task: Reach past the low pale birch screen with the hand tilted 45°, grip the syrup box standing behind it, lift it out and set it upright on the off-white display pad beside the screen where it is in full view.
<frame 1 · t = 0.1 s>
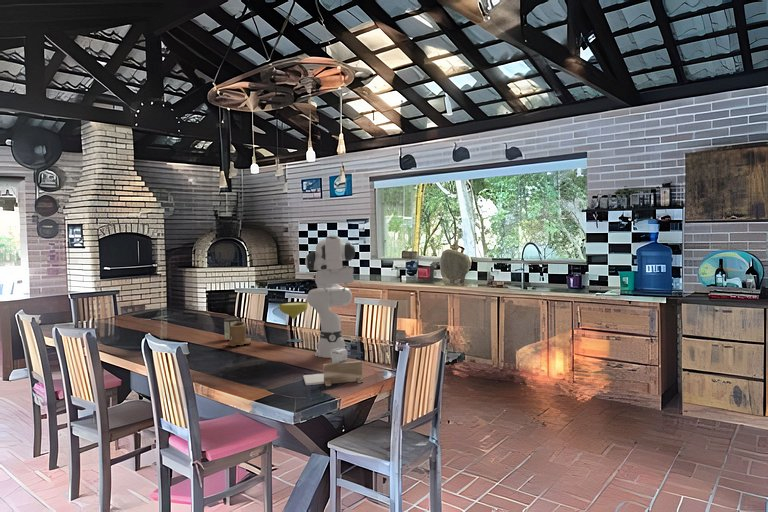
hand: (335, 292, 275), 39 cm above the table, tool pointing down, fingers open, 8 cm apart
stone cup: (240, 345, 332), on the table
cocktail glass: (294, 341, 340), on the table
birch screen: (343, 381, 246), on the table
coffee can: (232, 339, 351), on the table
display pad: (315, 380, 250), on the table
syrup box: (339, 379, 250), on the table
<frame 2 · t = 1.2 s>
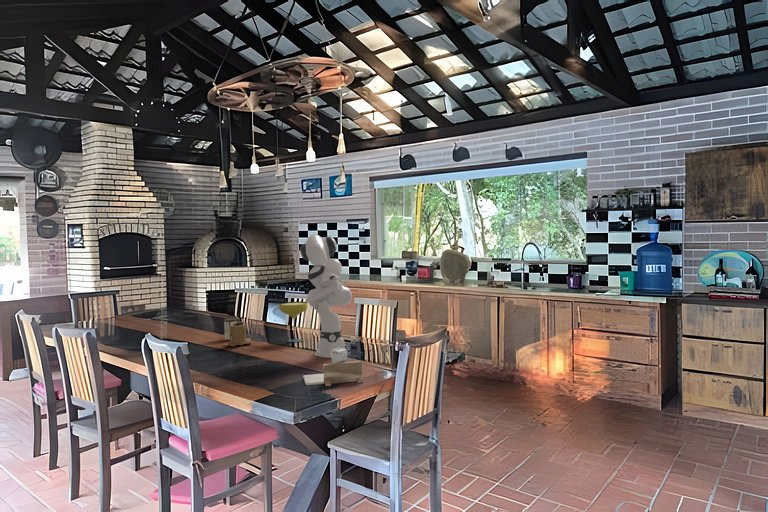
hand: (322, 305, 258), 35 cm above the table, tool tilted 50°, fingers open, 8 cm apart
nothing on the table moved.
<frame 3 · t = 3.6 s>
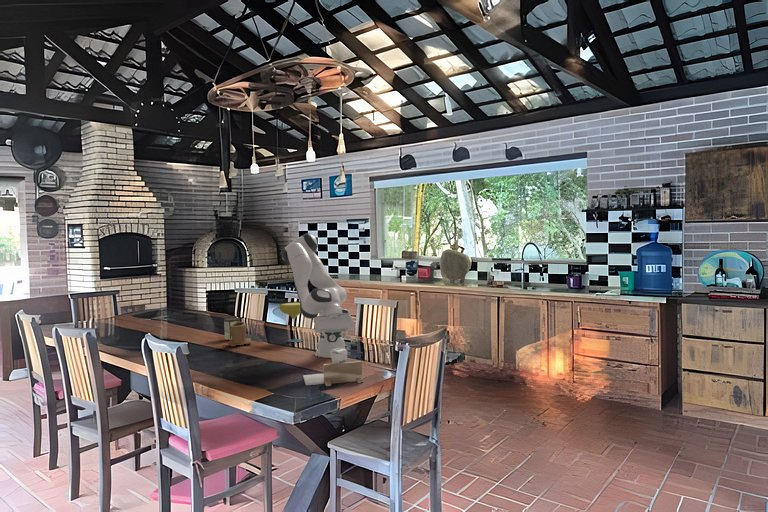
hand: (335, 337, 261), 18 cm above the table, tool tilted 45°, fingers open, 8 cm apart
nothing on the table moved.
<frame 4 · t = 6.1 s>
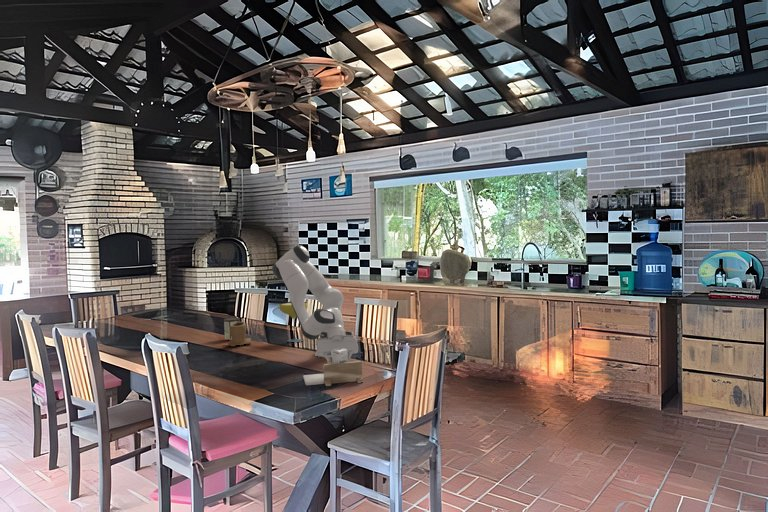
hand: (338, 361, 250), 9 cm above the table, tool tilted 45°, fingers open, 8 cm apart
syrup box: (339, 379, 250), on the table, touching gripper
everything else where it was.
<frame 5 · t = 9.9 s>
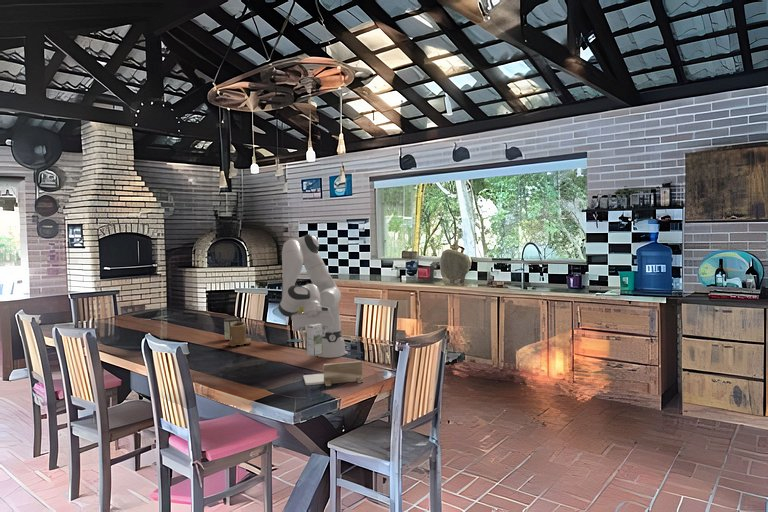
hand: (313, 336, 248), 21 cm above the table, tool tilted 45°, fingers closed on syrup box, 8 cm apart
syrup box: (314, 354, 248), point 13 cm above the table, touching gripper
everything else where it was.
when the fingers open (11 cm above the table, at t = 13.1 s): syrup box drops 1 cm, resting on display pad.
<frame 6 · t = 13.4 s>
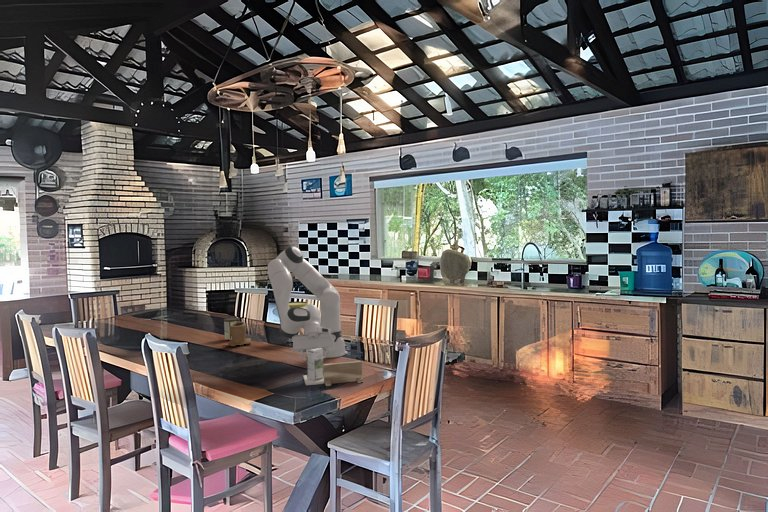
hand: (314, 358, 248), 11 cm above the table, tool tilted 45°, fingers open, 8 cm apart
syrup box: (315, 378, 249), point 1 cm above the table, touching display pad, gripper
everything else where it was.
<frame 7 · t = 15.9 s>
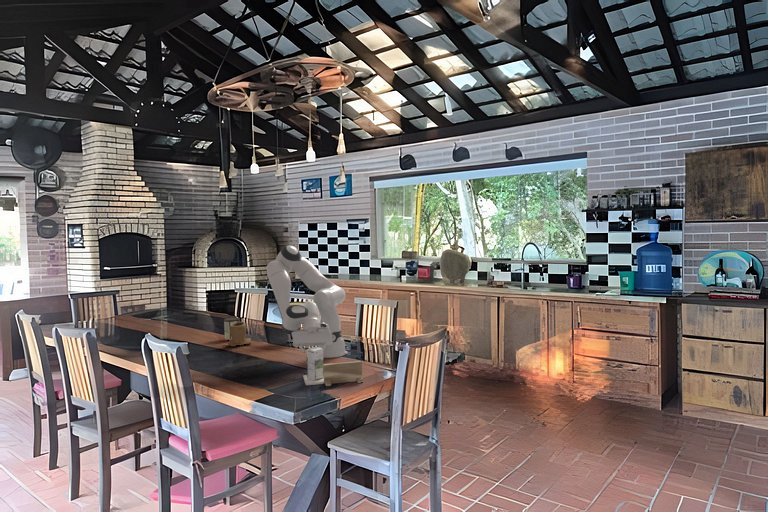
hand: (313, 352, 261), 11 cm above the table, tool tilted 45°, fingers open, 8 cm apart
syrup box: (315, 378, 249), point 1 cm above the table, touching display pad
everything else where it was.
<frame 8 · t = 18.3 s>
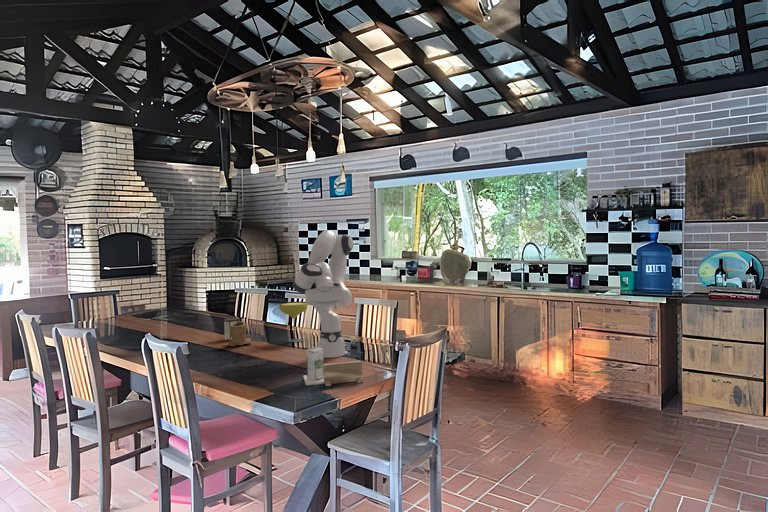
hand: (326, 309, 265), 31 cm above the table, tool tilted 45°, fingers open, 8 cm apart
nothing on the table moved.
at the end: syrup box inside the target area (0.5 cm from its centre), point 0.8 cm above the table; syrup box tilted 0°; the gripper is holding nothing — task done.
